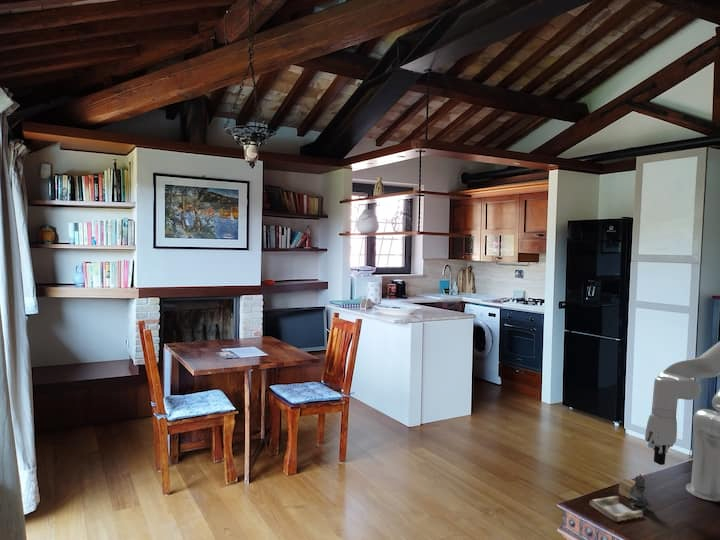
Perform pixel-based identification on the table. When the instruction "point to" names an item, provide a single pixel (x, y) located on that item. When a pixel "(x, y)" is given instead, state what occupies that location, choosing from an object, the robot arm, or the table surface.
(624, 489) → the oak block
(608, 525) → the table surface
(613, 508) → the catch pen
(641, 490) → the grey chess piece
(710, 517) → the table surface
